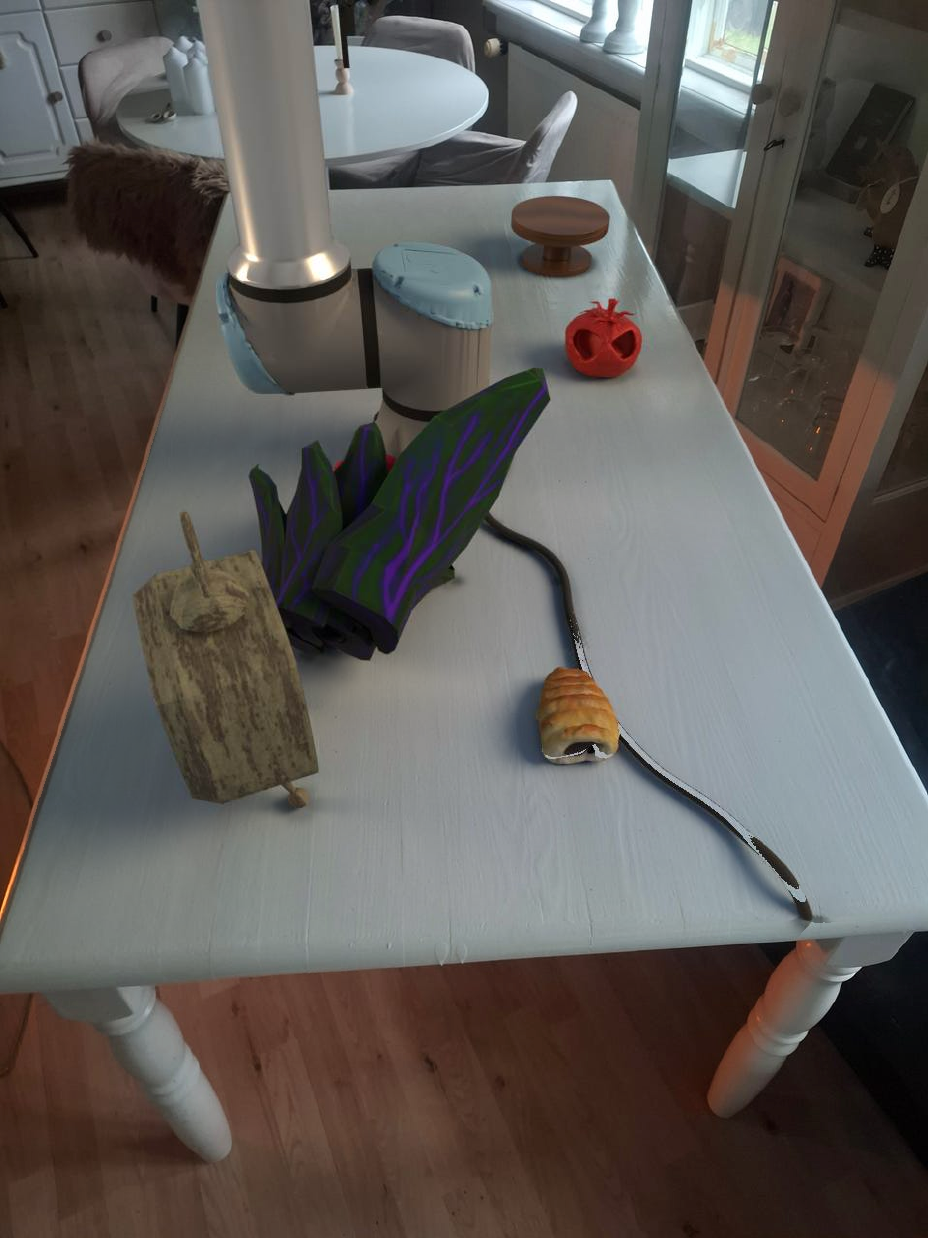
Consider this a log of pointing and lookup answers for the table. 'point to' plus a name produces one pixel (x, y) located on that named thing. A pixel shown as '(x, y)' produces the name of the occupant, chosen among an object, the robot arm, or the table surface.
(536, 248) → the stand
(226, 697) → the brown boxy piece
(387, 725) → the table surface
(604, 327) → the angry red tomato
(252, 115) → the robot arm
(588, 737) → the pastry
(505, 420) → the decorative plant
